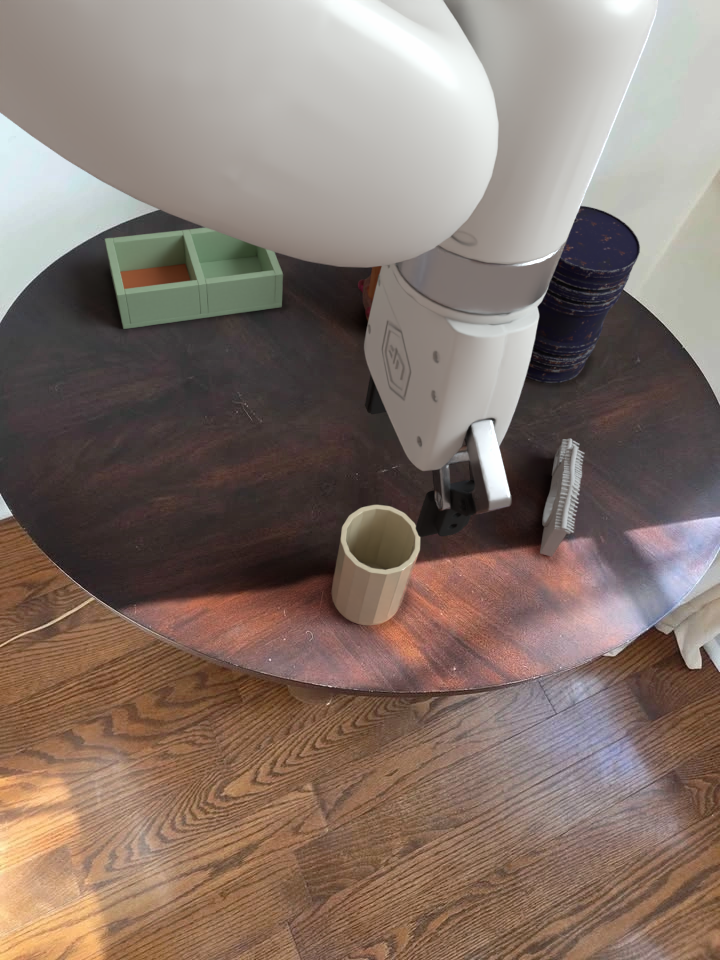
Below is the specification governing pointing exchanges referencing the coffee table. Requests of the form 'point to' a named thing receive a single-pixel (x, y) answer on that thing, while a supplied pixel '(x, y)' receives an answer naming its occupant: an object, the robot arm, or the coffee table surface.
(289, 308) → the coffee table surface
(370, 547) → the paper cup
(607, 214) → the navy cylinder
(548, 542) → the lattice window wall
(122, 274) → the cup holder
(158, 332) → the coffee table surface
